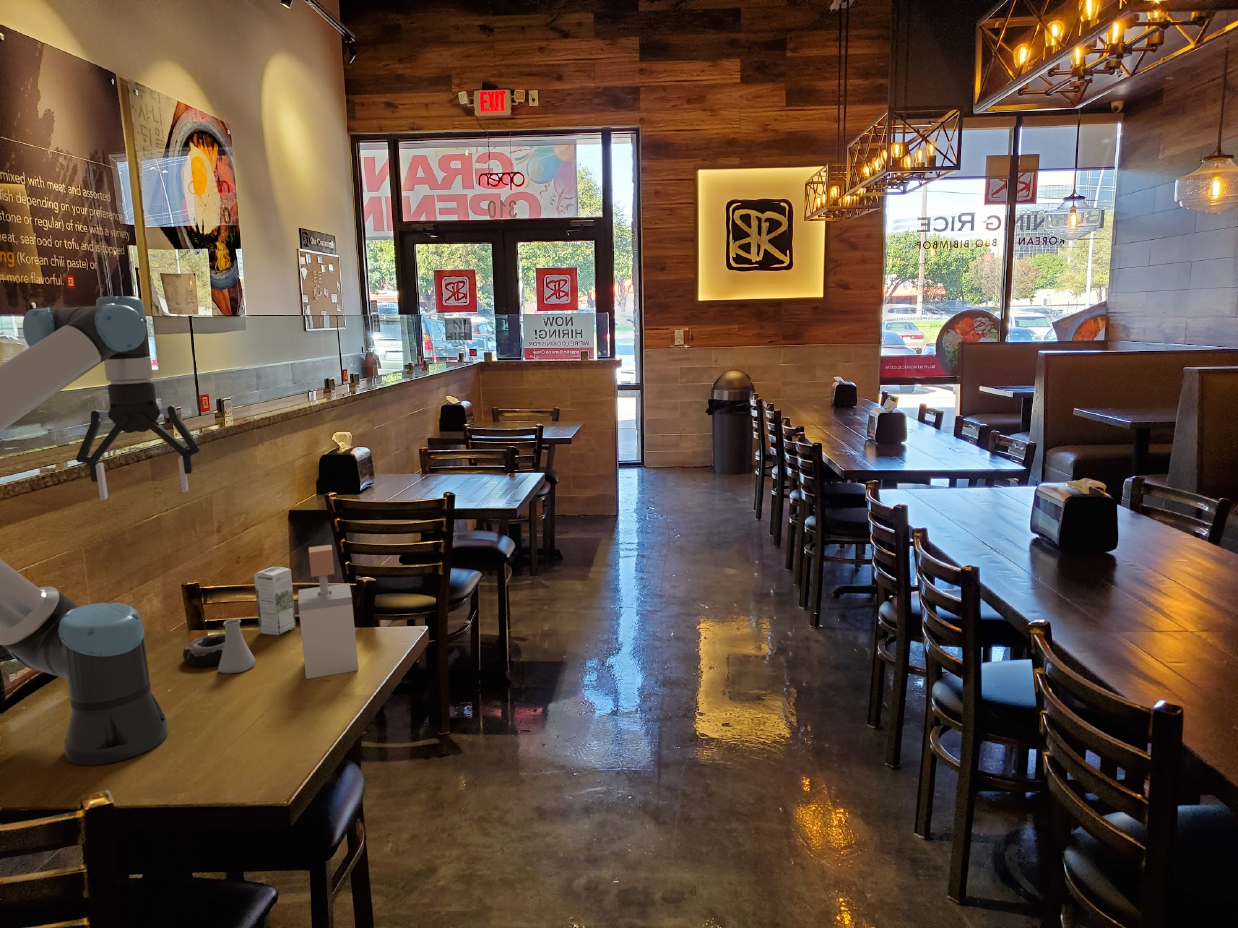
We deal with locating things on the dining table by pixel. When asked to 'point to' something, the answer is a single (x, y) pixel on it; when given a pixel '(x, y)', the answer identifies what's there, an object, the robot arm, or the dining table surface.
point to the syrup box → (275, 600)
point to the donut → (205, 650)
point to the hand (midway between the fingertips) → (145, 494)
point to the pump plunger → (321, 565)
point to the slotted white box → (328, 631)
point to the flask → (235, 650)
